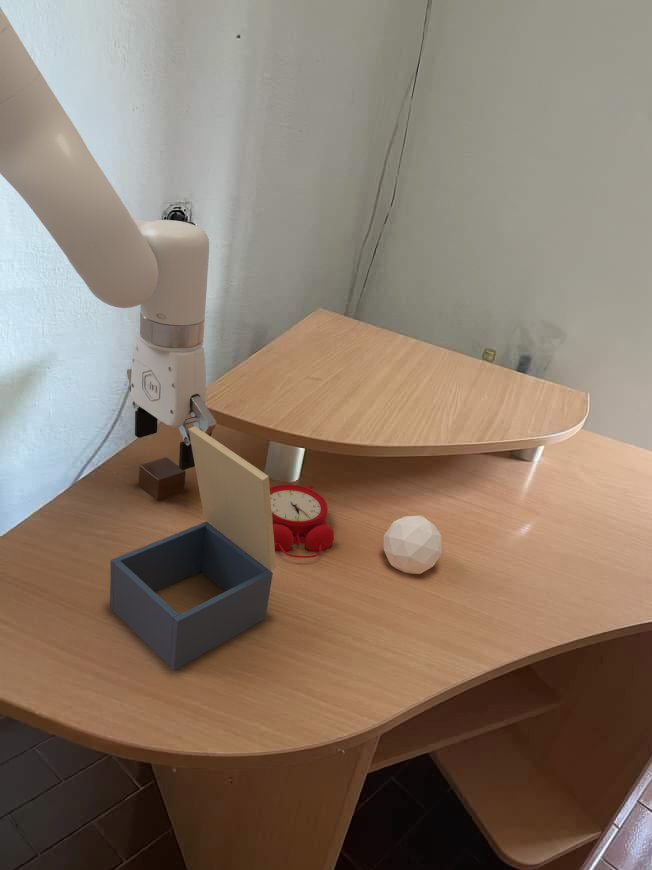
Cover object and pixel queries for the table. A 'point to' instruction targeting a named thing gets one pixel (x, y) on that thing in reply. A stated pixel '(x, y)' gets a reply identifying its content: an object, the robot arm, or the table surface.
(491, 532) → the table surface
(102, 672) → the table surface
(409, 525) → the geometric ball
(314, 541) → the alarm clock
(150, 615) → the chest
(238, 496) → the lid
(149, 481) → the block
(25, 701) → the table surface
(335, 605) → the table surface
